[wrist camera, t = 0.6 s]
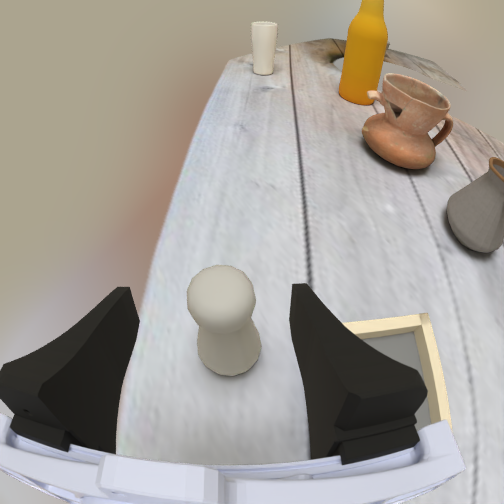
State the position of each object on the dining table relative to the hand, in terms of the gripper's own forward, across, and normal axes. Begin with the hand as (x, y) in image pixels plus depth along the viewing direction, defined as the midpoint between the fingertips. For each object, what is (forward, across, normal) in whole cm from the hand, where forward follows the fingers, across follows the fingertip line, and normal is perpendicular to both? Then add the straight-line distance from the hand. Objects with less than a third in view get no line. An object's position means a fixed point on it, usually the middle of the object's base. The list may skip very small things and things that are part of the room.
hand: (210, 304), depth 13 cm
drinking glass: (+75, -8, -15) cm, 77 cm away
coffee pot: (+19, -36, +10) cm, 42 cm away
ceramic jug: (+41, -31, 0) cm, 51 cm away
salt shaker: (+10, 0, +14) cm, 17 cm away
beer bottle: (+62, -30, -9) cm, 70 cm away
